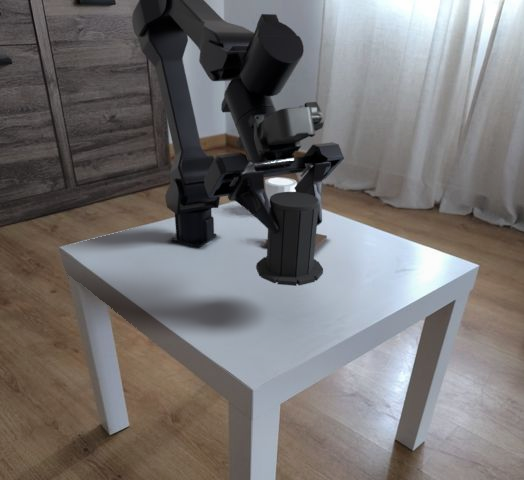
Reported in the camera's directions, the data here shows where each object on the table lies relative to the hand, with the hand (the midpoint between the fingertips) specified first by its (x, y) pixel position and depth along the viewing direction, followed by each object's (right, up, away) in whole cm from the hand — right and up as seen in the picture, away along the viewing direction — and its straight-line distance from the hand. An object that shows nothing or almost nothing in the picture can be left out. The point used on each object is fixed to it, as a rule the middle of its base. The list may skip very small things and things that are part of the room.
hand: (298, 228), depth 63 cm
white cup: (-1, +14, +45) cm, 47 cm away
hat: (-1, -5, +5) cm, 7 cm away
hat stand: (+2, +5, +31) cm, 31 cm away
